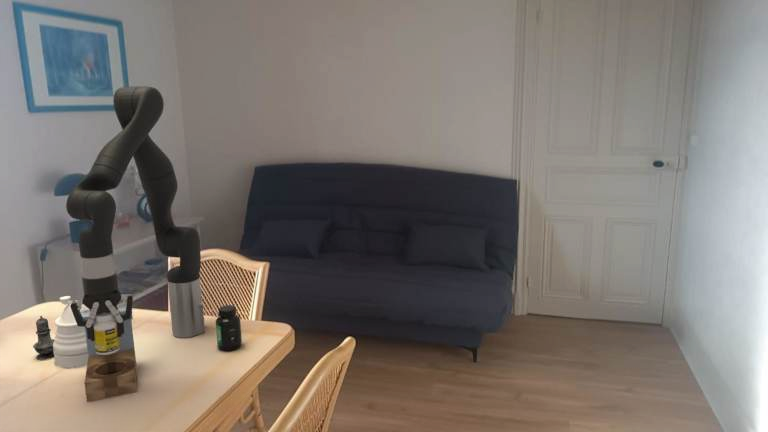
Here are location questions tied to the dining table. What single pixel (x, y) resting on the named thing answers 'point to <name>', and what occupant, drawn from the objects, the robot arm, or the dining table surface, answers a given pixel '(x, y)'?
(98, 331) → the supplement bottle
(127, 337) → the wall
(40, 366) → the dining table surface
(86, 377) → the socket
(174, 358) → the dining table surface
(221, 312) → the supplement bottle
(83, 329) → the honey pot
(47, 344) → the dark grey chess piece
